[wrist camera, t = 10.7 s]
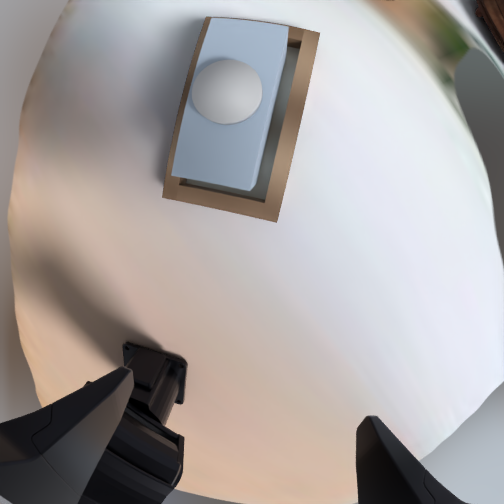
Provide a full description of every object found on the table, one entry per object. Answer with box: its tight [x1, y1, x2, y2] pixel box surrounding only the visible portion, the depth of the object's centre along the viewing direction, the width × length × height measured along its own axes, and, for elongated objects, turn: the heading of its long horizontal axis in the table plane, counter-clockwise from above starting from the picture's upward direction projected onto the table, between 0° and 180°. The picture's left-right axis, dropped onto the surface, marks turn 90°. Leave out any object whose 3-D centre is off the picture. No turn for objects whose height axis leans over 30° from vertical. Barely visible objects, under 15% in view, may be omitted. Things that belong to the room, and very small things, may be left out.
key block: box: [171, 18, 289, 191], centre depth 13 cm, size 4×9×6 cm, turn 168°
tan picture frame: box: [162, 17, 320, 223], centre depth 16 cm, size 13×8×2 cm, turn 168°
